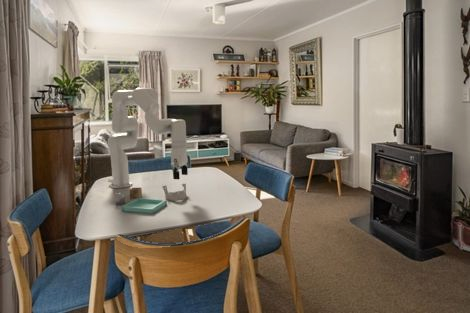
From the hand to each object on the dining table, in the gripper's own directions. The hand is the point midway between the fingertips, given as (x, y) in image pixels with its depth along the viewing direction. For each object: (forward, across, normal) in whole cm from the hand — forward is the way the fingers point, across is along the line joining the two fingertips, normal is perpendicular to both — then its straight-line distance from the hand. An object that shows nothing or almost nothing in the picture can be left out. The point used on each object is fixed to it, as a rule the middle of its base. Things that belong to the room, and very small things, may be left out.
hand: (180, 176), depth 168 cm
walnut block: (+12, +2, -26) cm, 29 cm away
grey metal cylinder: (+12, +13, -28) cm, 33 cm away
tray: (+12, +16, -12) cm, 23 cm away
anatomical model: (+13, -2, -4) cm, 13 cm away
